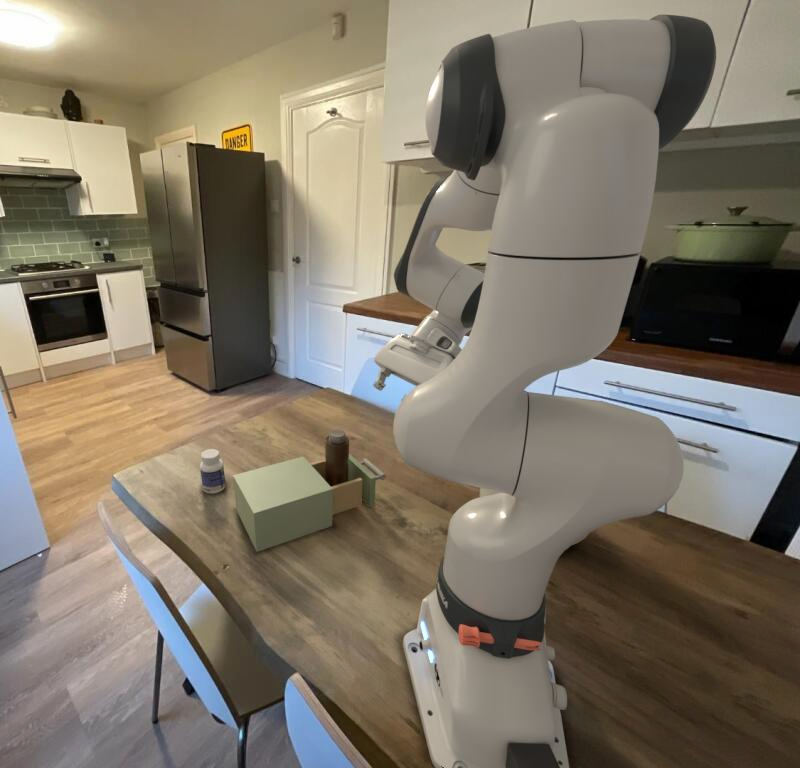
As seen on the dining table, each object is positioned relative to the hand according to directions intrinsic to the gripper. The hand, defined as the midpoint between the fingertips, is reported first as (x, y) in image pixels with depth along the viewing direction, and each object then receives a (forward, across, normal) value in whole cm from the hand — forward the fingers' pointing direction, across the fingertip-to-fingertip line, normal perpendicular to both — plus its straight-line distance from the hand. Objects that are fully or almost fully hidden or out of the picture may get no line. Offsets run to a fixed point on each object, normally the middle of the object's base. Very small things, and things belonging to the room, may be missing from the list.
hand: (390, 396), depth 83 cm
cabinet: (+33, 0, -2) cm, 33 cm away
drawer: (+23, 0, +6) cm, 24 cm away
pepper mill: (+23, 0, +5) cm, 23 cm away
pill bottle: (+40, -16, -9) cm, 45 cm away
